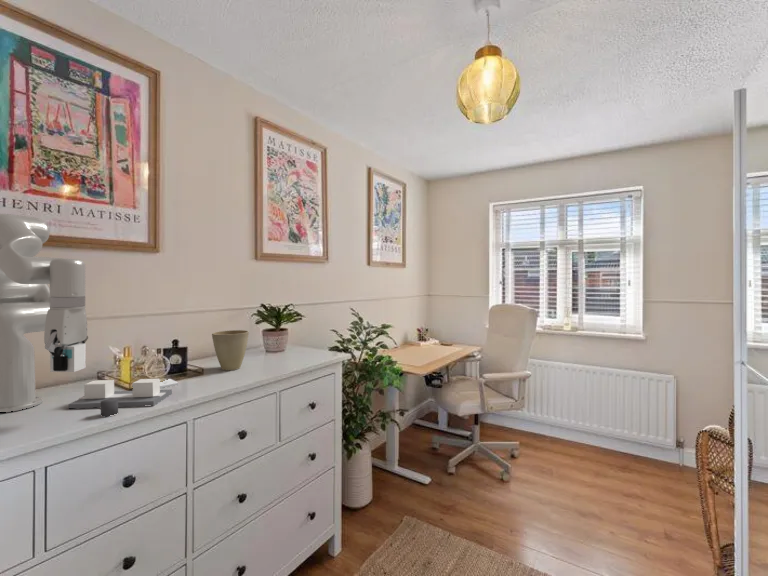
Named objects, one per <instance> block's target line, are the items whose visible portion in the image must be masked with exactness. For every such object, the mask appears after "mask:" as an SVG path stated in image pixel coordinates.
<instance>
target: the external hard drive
mask: <svg viewBox="0 0 768 576" xmlns="http://www.w3.org/2000/svg"><path fill="white" fill-rule="evenodd" d="M167 379H168V380H166V379H164V380H165V381H163V382H160V388H162V389H166V388H165V387H167V388H171V387H170V386H172V387H175V385H177V386H179V382H178V381H176V380H174V379H172V378H167Z"/></svg>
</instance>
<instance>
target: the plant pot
mask: <svg viewBox="0 0 768 576" xmlns="http://www.w3.org/2000/svg"><path fill="white" fill-rule="evenodd" d="M249 332H250V331H249V330H244V329H236V330H235V329H231V330H222V331H220V330H219V331H215V332H212V333H211V336H212V343H213V348H214V352H215V355H216V358H217V361H218V363H219V365H220V368H221V370H222V371H234V370H239V369H241V367H242V363H243V361H244V357H245V354H246V351H247V346H248V342H249V341H248V340H249V334H250V333H249Z"/></svg>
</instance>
